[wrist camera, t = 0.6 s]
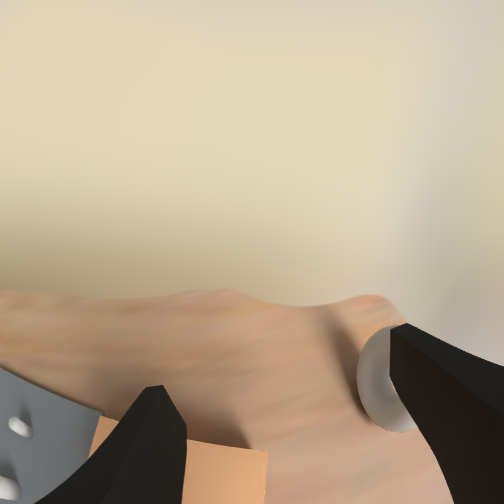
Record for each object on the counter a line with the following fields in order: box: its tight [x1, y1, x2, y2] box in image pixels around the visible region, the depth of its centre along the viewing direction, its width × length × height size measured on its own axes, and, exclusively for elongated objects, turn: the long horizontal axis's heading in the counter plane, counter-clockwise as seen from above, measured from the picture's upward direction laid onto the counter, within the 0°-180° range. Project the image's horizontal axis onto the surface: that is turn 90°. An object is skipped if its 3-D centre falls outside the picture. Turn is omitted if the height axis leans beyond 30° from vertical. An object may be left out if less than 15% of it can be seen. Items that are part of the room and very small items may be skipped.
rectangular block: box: [88, 415, 268, 504], centre depth 18 cm, size 12×5×4 cm, turn 85°
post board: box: [0, 368, 105, 504], centre depth 14 cm, size 15×12×4 cm
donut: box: [356, 325, 418, 433], centre depth 23 cm, size 10×3×10 cm, turn 13°
